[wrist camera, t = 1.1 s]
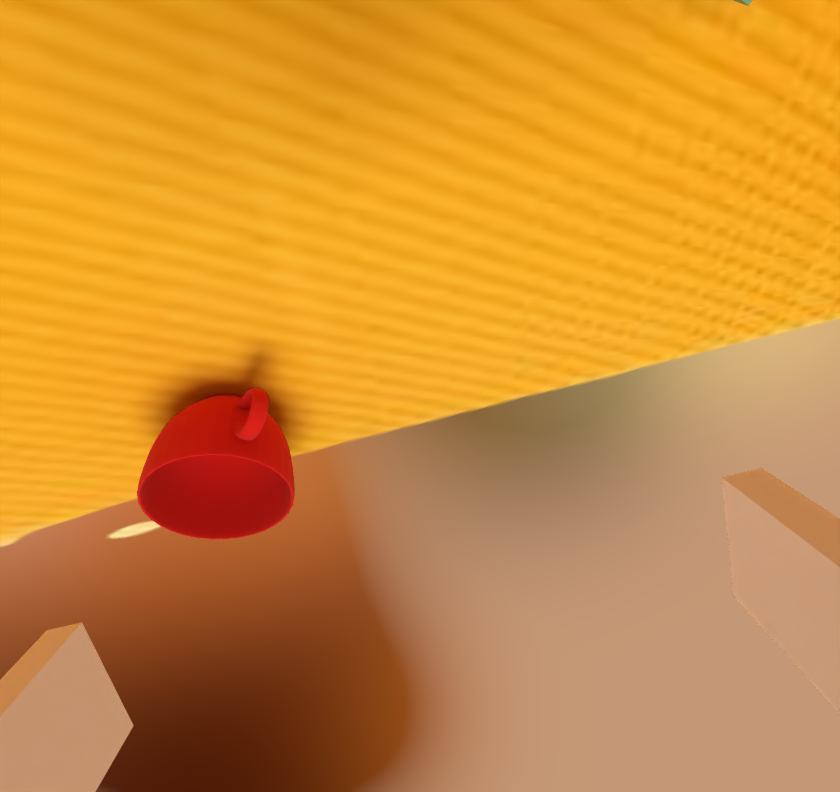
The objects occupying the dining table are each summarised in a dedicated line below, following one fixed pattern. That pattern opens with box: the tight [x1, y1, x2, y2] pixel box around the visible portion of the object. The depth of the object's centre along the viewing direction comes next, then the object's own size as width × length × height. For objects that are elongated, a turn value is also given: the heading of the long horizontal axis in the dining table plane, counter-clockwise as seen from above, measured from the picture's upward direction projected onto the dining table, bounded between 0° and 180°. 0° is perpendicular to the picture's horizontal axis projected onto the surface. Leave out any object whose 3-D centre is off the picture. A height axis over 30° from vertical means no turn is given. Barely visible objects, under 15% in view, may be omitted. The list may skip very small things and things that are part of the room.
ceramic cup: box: [137, 388, 294, 539], centre depth 50 cm, size 13×17×10 cm
